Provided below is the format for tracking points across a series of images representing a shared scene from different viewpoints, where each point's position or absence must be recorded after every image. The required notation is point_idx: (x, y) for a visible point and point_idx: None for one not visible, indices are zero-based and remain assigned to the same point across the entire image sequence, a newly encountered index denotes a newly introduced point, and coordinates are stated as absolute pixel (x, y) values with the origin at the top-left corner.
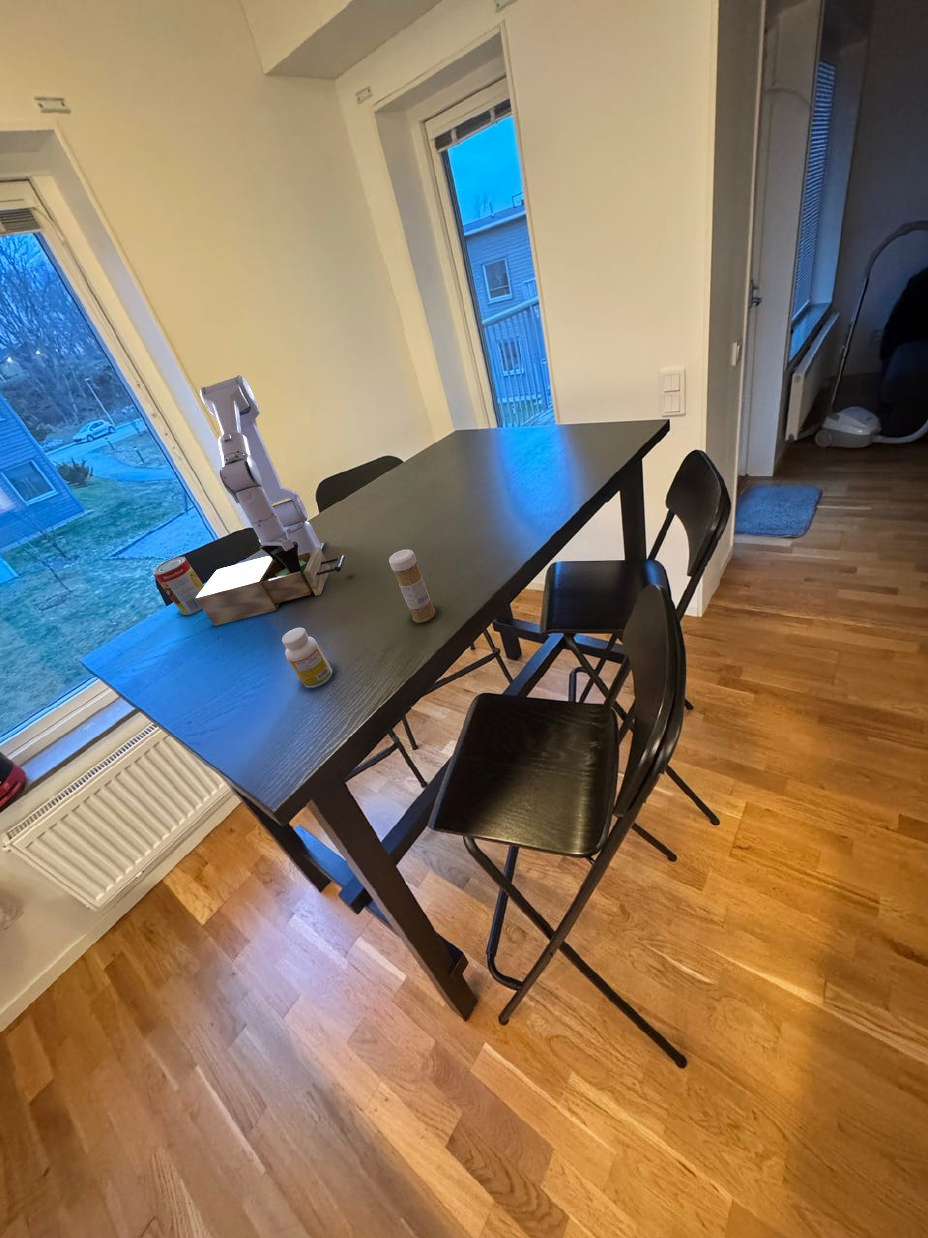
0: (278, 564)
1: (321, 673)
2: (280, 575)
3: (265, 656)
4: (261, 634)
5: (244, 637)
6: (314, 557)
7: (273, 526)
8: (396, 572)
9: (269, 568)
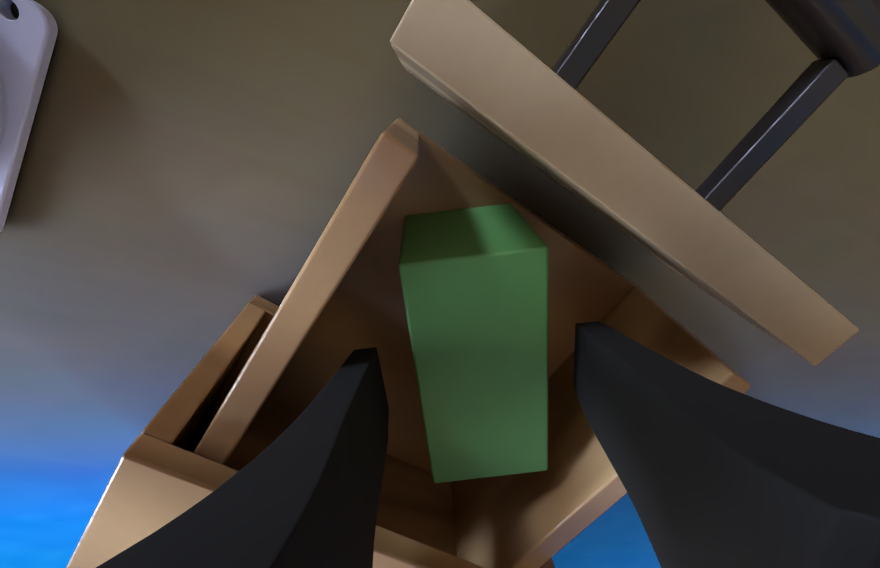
0: (382, 467)
1: None
2: (508, 459)
3: None
4: (631, 503)
5: (573, 543)
6: (675, 174)
7: None
8: None
9: (376, 527)
